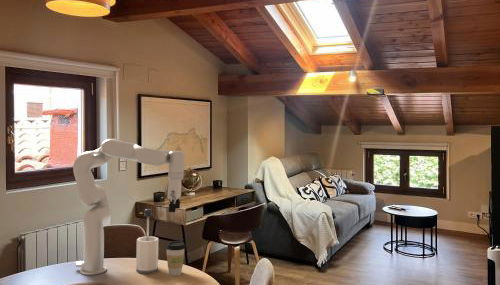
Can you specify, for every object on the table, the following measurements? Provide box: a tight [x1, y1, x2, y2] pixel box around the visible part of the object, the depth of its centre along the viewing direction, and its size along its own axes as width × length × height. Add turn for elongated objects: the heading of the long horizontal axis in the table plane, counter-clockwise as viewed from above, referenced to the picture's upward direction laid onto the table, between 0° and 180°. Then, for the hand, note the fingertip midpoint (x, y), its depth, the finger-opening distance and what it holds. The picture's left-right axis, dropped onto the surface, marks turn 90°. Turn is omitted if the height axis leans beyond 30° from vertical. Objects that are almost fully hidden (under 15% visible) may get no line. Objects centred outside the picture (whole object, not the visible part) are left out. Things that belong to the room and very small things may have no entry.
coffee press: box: [135, 235, 159, 275], centre depth 213 cm, size 11×13×16 cm
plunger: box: [143, 208, 153, 241], centre depth 211 cm, size 7×7×18 cm
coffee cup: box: [165, 240, 187, 277], centre depth 208 cm, size 10×10×15 cm
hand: (174, 210), depth 207 cm, fingers open, 9 cm apart
